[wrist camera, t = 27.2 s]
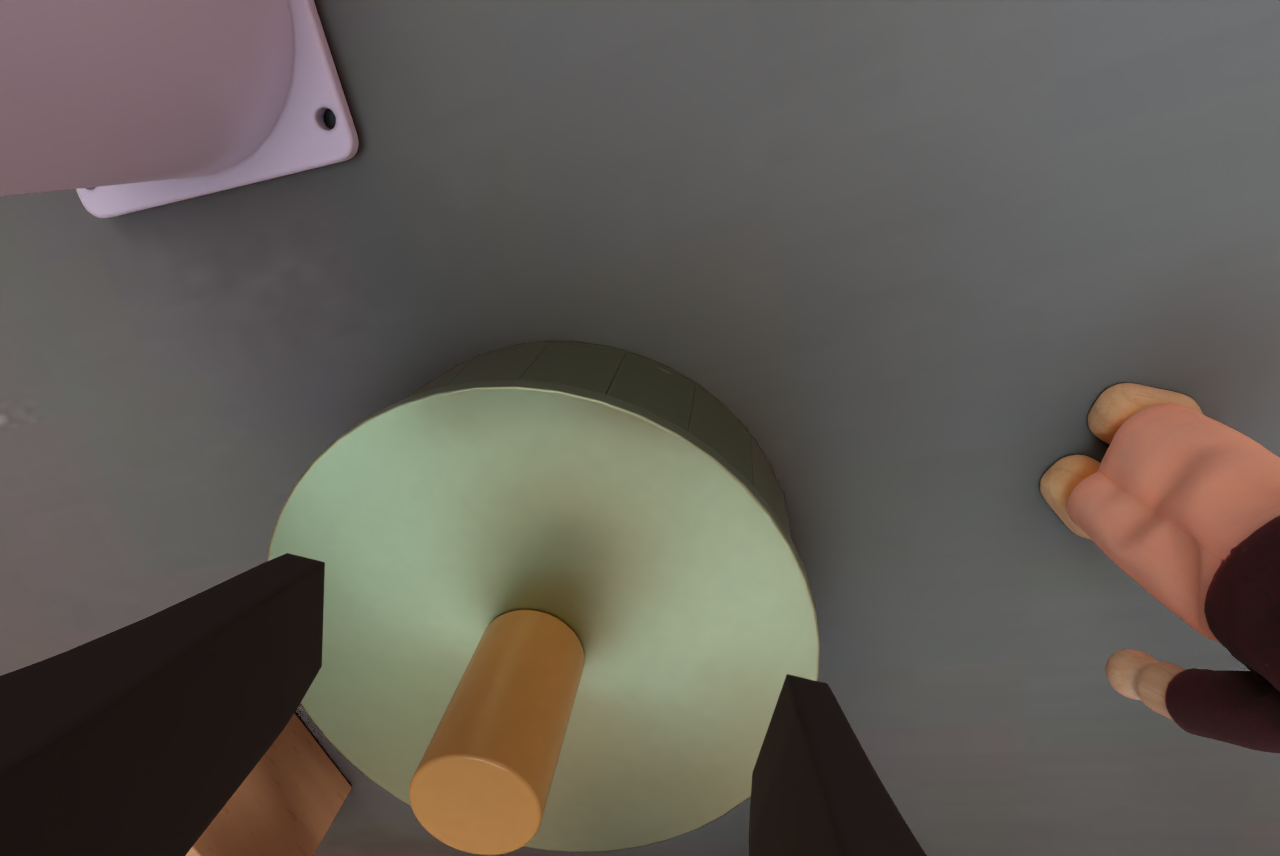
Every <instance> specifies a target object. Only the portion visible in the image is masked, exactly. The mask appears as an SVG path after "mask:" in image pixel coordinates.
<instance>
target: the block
mask: <svg viewBox="0 0 1280 856" xmlns="http://www.w3.org/2000/svg"><path fill="white" fill-rule="evenodd" d="M350 790H351V786H350V784H349V783H348V782H347V781H346V779H345V778H344V777H343V775H342V774H341V773H340V771H339V770H338V769H337V768H336V766H335V765H334V764H333V762H332V761H331V760H330V758H329V757H328V756H327V754H326V753H325V752H324V751H323V749H322V748H321V747H320V745H319V744H318V743H317V741H316V740H315V739H314V738H313V736H312V735H311V734H310V732H309V731H308V730H307V728H306V727H305V726H304V725H303V723H302V722H301V721H300V719H299V718H298V717H297V715H296V714H295V713H294V714H293V716H292V717H291V719H290V721H289V722H288V724H287V725H286V727H285V728H284V729H283V731H282V732H281V733H280V735H279V736H278V737H277V739H276V740H275V741H274V743H273V744H272V745H271V747H270V748H269V749H268V750H267V752H266V753H265V754H264V756H263V757H262V758H261V760H260V761H259V762H258V763H257V765H256V766H255V767H254V769H253V770H252V771H251V772H250V774H249V775H248V776H247V778H246V779H245V780H244V781H243V783H242V784H241V785H240V787H239V788H238V789H237V790H236V792H235V793H234V794H233V795H232V797H231V798H230V799H229V801H228V802H227V803H226V804H225V806H224V807H223V808H222V809H221V811H220V812H219V813H218V815H217V816H216V817H215V818H214V820H213V821H212V822H211V824H210V825H209V826H208V827H207V829H206V830H205V831H204V832H203V834H202V835H201V836H200V838H199V839H198V840H197V841H196V843H195V844H194V845H193V847H192V848H191V849H190V850H189V852H188V853H187V854H186V855H185V856H313V855H314V853H315V852H316V850H317V848H318V846H319V845H320V843H321V841H322V839H323V838H324V836H325V834H326V832H327V831H328V829H329V827H330V825H331V824H332V822H333V820H334V818H335V817H336V815H337V813H338V811H339V810H340V808H341V806H342V804H343V803H344V801H345V799H346V797H347V796H348V794H349V792H350Z"/></svg>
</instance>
